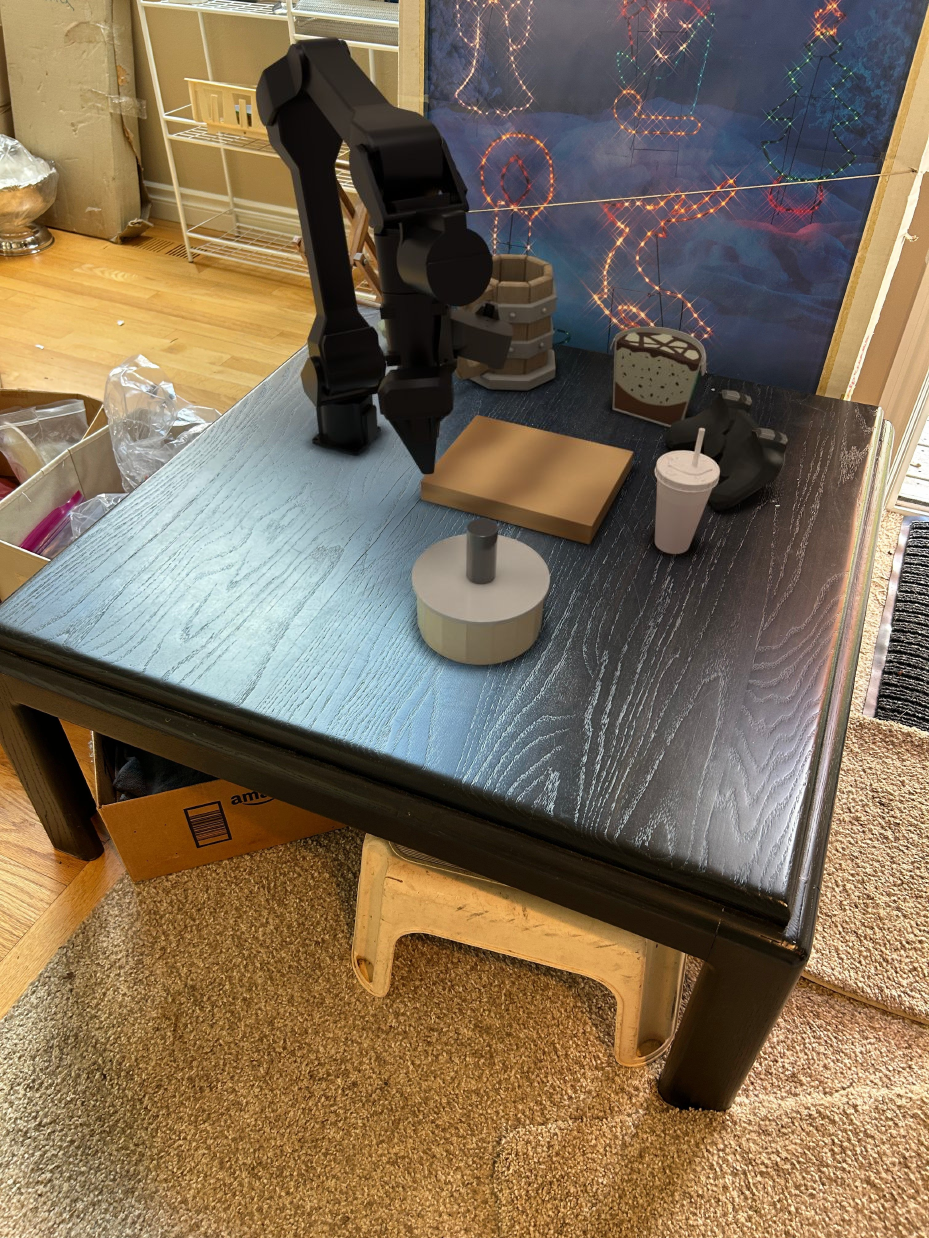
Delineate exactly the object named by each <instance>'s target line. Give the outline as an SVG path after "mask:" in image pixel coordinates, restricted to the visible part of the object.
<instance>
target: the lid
mask: <svg viewBox="0 0 929 1238" xmlns="http://www.w3.org/2000/svg"><path fill="white" fill-rule="evenodd" d="M411 585H412V589H413V592H414V595H415V596H416V598H417V597H418V599H419V600H420V601H421V603H422V604H423V605H424V606H425V607H427V608H428V609H429V610H430V611H432V612H433V613H435V614H436V615H438V616H441V617H443V618H445V619H448V620H450V621H453V622H457V623H461V624H467V625H477V626H490V625H499V624H504V623H508V622H512V621H515V620H518V619H520V618H522V617H524V616H526V615H528V614H530V613H531V612H532V611H534V610H535V609H536V608H537V607H538V606H539V605H540V604H541V603H542V602H543V601H545V599H546V597H547V596H548V593H549V590H550V586H551V575H550V570H549V567H548V565H547V563H546V561H545V560H544V558H543V557H542V556H541V555H540V554H539V553H538V552H537V551H536V550H534V549H533V548H532V547H531V546H529V545H527V544H525V543H524V542H522V541H520V540H517V539H514V538H511V537H509V536H505V535H500V534H499V525H498V524H497V522H496V521H494V519H492V518H488V517H477V518H474V519H472V520H470V521H469V522H468V523H467V524H466V533H462V534H458V535H457V534H456V535H452V536H449V537H447V538H444V539H442V540H439V541H437V542H435V543H433V544H431V545H430V546H429V547H428V548H425V550H423V551H422V553H421V554H420V555H419V556H418V557H417V559H416V561H415V562H414V564H413V567H412V570H411ZM543 603H544V602H543Z"/></svg>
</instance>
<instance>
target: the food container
mask: <svg viewBox="0 0 929 1238" xmlns="http://www.w3.org/2000/svg"><path fill="white" fill-rule="evenodd" d="M613 349H614V352H613V353H614V355H613V383H612V384H613V385H612V386H613V387H612V411H616V412H618V413H622V414H625V415H628V416H631V417H635V418H637V419H640V420H641V419H642V420H644V421H647V422H651V423H654V424H657V425H660V426H663V427H667V428H670V427H671V425H672V423H674V422H676V421H679V420H683V419H686V416H687V413H688V410H689V406H690V404H691V400H692V397H693V394H694V391H695V388H696V384H697V381H698V378H699V375H700V372H701V376H702V377H703V376H704V375H705V374H706V371H707V353H706V351H705V350H706V349H705V347H704V345H703V343H701V341H700V340H698V339H697V338H696V337H695V336H693V335H690V334H688V333H686V332H684V331H680V330H677V329H673V328H670V327H664V326H663V327H662V326H636V327H631V328H627V329H625V330H621V331H620V332H618V333H617V334H615V336H614V338H613V339H612V341H611V345H610V348H609V351H612V350H613Z"/></svg>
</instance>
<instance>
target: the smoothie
mask: <svg viewBox="0 0 929 1238" xmlns="http://www.w3.org/2000/svg"><path fill="white" fill-rule="evenodd" d="M704 432H705V429H704V428H700V429H699V433H698V437H697V442H696V447H695V448H694V451H692V450H685V449H682V450H671V451H669V452H666V453H664V454H662V455H660V456H659V458H658V459H657V460H656V465H655V468H654V476H655V477H656V480H657V481H656V498H655V499H656V503H655V506H656V507H655V522H654V523H655V524H654V525H655V526H654V527H655V528H654V529H655V530H654V544H655V547H656V548H657V549H658V550H660V551H661V552H663V553H666V554H670V555H679V554H683V553H685V552H687V551H688V550H689V548H690V546H691V544H692V541H693V538H694V537H695V533H696V531H697V529H698V526H699V523H700V520H701V518H702V516H703V513H704V511H705V508H706V506H707V503H708V500H709V496H710V493H711V491H712V490H713V489H714V488H715V487H716V486H717V485H718V484H719V480H720V469H719V464H717V461H716V460H713V459H711V458H709V457H708V456H706V455H705V454H703V453H702V452H701V450H702V447H701V446H702V441H703V437H704Z"/></svg>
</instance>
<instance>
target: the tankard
mask: <svg viewBox="0 0 929 1238" xmlns="http://www.w3.org/2000/svg"><path fill="white" fill-rule="evenodd" d="M492 258H493V273H492V277H491V280H490V283H489V285H488V287H487V289H486V290H485V292H484V293H483V294H482V296H481V297H480V298H478V299H477V300H476V301H475V302H473V303H471V304H468V305H466V306H461V307H458V306H456V309H457V310H461V311H466V310H470V311H471V313H472V312H473V311H474V310H475V309H476V308H477V306H478V305H479V304H480V303H481V302H482V301H483V300H484V301H488V302H491V303H495V304H497V305H498V310H499V315H500V321H503V322H504V320H505V321H508V324H510V325H511V326H512V327H513V338H512V342H511V345H510V348H509V352H508V355H507V358H506V362H505V365H504V368H503V369H502V370H497V369H492V368H489V367H488V366H487V365H486V364H483V363H479V362H476V361H472V360H469V359H465V358H462V357H459V356H458V365H457V368H456V370H455V371H454V372H453V374H454V375H455V377H456V378H457V379H459V380H462V381H463V380H468V379H469V380H471V381H473V382H475V384H478V385H480V386H482V387H484V388H486V389H488V390H490V391H491V390H492V391H520V392H523V391H525V392H527V391H528V392H529V391H530V390H532V389H534V388H536V387H538V386H540V385H543V384H545V383H547V382H549V381H552V380H553V379H555V378H556V357H555V351H554V349H553V341H554V334H555V332H556V331H555V329H554V324H553V317H551V316H552V315H554V314H556V307H557V300H558V295H557V290H556V282H555V281H554V268H553V265H552V264H551V263H550V262H548V261H545V260H543V259H540V258H537V257H535V256H533V255H531V254H530V255H527V254H510V253H498V254H494V255H492Z"/></svg>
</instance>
